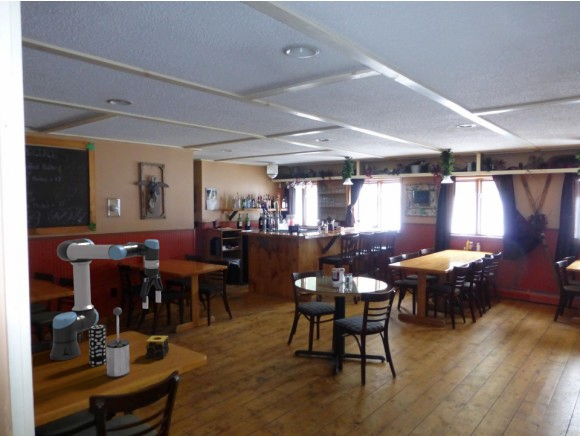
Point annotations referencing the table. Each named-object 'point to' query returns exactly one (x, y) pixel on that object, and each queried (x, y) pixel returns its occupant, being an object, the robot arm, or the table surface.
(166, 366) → the table surface
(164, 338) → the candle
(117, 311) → the grey ball-topped rod
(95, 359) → the spotted tube
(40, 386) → the table surface
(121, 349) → the grey cylinder
